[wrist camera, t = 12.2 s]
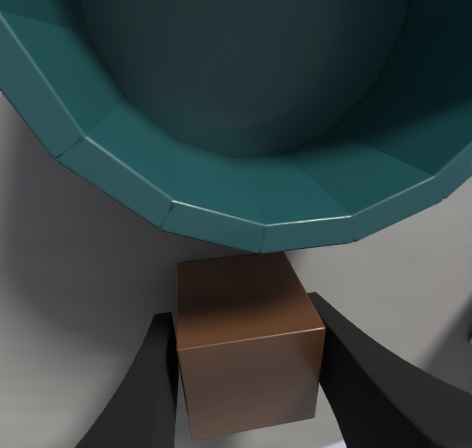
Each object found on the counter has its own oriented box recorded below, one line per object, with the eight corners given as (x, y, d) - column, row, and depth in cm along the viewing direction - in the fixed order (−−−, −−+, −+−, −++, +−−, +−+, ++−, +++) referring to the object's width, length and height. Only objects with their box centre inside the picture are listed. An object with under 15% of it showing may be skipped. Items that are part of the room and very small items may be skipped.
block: (280, 328, 15) (315, 418, 12) (187, 342, 15) (191, 441, 11) (283, 250, 13) (326, 327, 10) (176, 262, 13) (176, 350, 9)
